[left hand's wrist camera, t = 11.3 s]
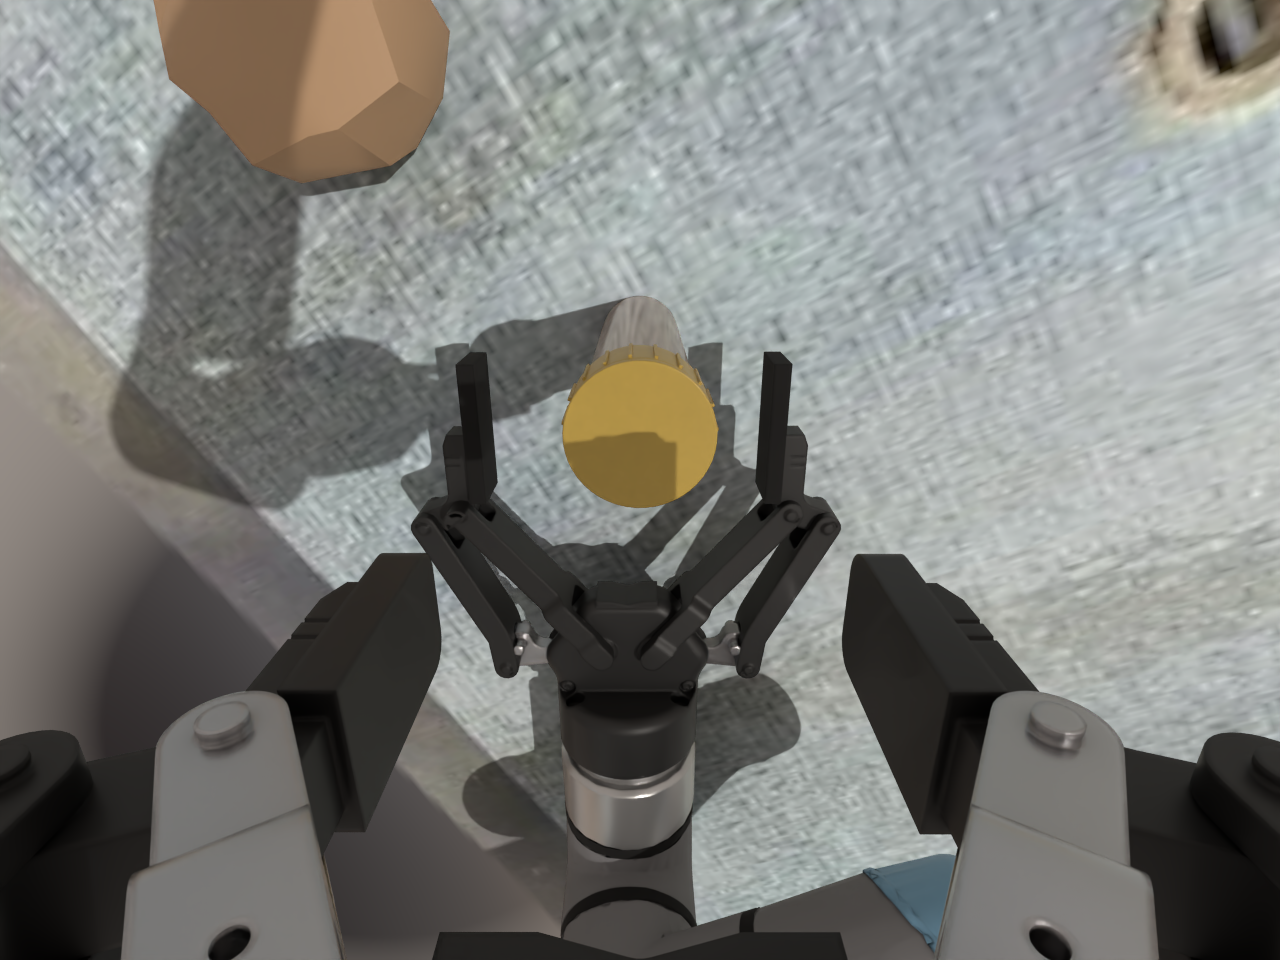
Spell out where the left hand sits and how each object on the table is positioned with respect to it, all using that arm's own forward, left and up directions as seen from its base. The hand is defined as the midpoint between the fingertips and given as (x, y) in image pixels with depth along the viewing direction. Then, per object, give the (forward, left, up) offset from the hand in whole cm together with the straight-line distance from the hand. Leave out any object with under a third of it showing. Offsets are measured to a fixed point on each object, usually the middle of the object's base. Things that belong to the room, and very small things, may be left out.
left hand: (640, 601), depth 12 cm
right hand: (0, -1, -20) cm, 20 cm away
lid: (0, 0, -9) cm, 9 cm away
